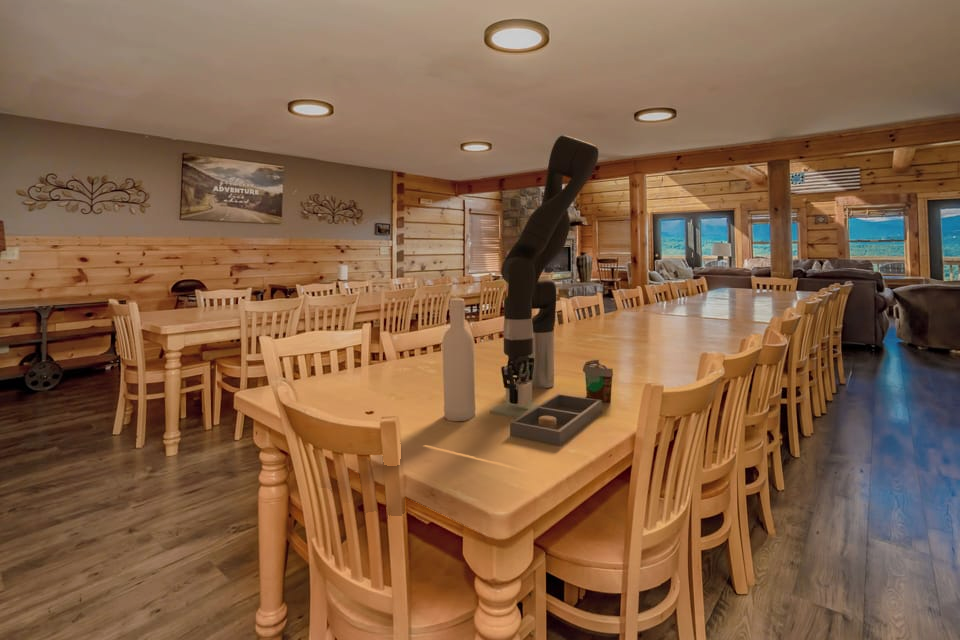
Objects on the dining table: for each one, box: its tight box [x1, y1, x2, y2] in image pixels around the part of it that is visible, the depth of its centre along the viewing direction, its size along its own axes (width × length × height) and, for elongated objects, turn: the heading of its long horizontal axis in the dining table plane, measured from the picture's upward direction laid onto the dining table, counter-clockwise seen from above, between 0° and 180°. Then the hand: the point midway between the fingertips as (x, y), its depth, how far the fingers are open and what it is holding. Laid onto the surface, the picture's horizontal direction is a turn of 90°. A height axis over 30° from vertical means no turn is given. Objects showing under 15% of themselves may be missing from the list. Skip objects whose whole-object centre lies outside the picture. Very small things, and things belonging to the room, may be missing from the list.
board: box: [489, 401, 541, 419], centre depth 127 cm, size 11×11×1 cm
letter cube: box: [505, 380, 533, 406], centre depth 127 cm, size 5×5×5 cm
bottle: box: [442, 297, 476, 422], centre depth 122 cm, size 8×8×30 cm
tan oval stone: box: [539, 416, 556, 430], centre depth 112 cm, size 4×4×3 cm
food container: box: [582, 359, 614, 404], centre depth 136 cm, size 12×6×10 cm, turn 5°
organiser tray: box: [509, 393, 603, 447], centre depth 117 cm, size 12×26×4 cm, turn 147°
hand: (518, 400), depth 127 cm, fingers closed on letter cube, 4 cm apart
